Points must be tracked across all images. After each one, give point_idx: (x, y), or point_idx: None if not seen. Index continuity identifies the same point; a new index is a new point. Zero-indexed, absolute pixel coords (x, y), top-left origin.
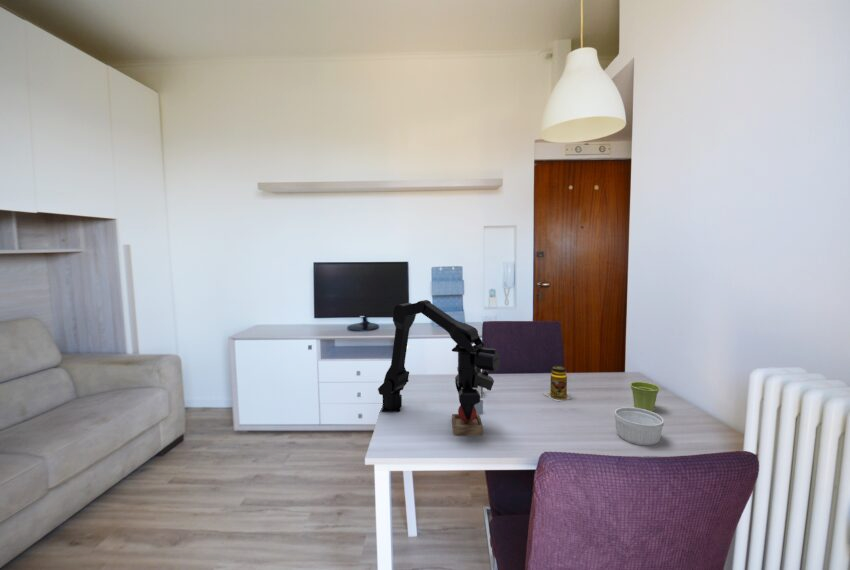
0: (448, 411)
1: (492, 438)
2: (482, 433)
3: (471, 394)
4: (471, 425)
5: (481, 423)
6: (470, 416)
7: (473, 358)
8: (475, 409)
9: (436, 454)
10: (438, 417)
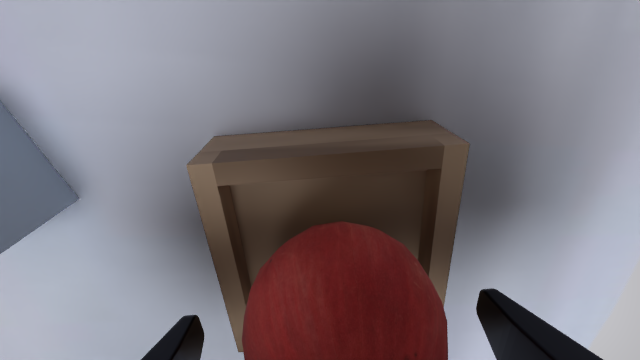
0: (79, 320)
1: (485, 43)
2: (439, 126)
3: None
4: (444, 234)
5: (411, 151)
6: (533, 317)
7: None
8: (374, 283)
9: (581, 335)
10: None
